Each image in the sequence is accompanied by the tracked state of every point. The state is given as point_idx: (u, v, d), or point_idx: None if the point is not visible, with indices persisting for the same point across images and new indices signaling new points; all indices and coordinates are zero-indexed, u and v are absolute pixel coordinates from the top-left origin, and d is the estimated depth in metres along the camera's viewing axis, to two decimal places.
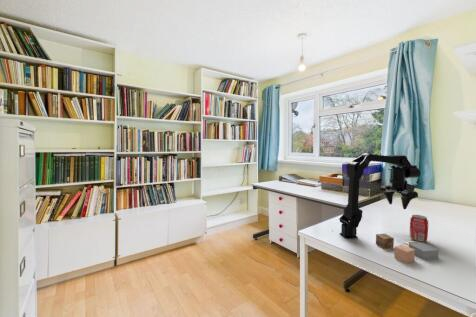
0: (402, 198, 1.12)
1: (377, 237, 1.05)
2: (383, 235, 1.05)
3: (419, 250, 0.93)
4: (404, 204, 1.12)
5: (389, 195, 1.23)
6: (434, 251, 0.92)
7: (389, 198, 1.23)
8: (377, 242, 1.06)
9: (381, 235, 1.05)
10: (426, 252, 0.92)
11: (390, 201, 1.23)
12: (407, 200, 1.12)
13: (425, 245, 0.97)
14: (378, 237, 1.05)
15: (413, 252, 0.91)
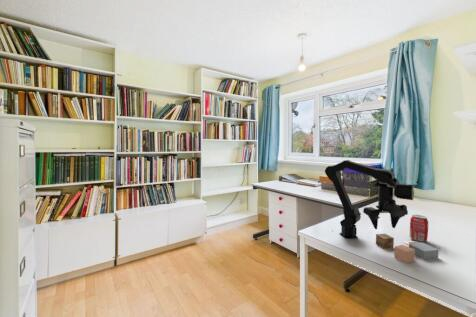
0: None
1: (377, 237, 1.05)
2: (383, 235, 1.05)
3: (419, 250, 0.93)
4: (372, 222, 1.04)
5: (393, 217, 1.05)
6: (434, 251, 0.92)
7: (392, 220, 1.05)
8: (377, 242, 1.06)
9: (381, 235, 1.05)
10: (426, 252, 0.92)
11: (392, 224, 1.05)
12: (374, 219, 1.03)
13: (425, 245, 0.97)
14: (378, 237, 1.05)
15: (413, 252, 0.91)
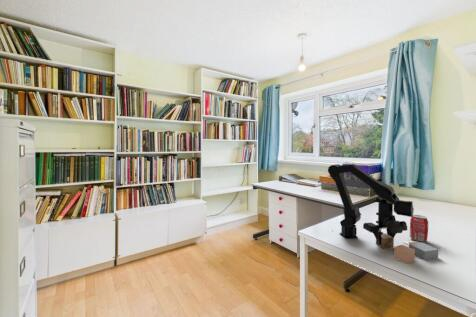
0: None
1: None
2: (383, 234, 1.05)
3: (420, 250, 0.93)
4: (376, 237, 1.05)
5: (389, 232, 1.05)
6: (434, 251, 0.92)
7: None
8: (377, 242, 1.06)
9: (381, 235, 1.05)
10: (426, 252, 0.92)
11: None
12: (377, 234, 1.03)
13: (425, 245, 0.97)
14: None
15: (413, 252, 0.91)
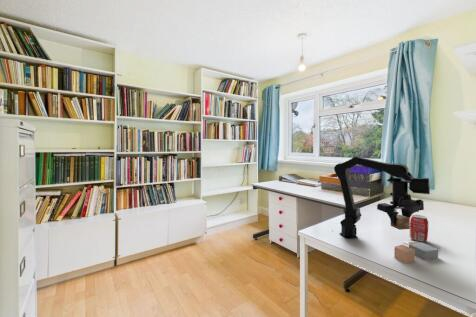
0: None
1: None
2: (398, 215, 1.01)
3: (420, 250, 0.93)
4: (390, 218, 1.01)
5: (404, 213, 1.01)
6: (434, 251, 0.92)
7: None
8: (392, 223, 1.01)
9: None
10: (427, 252, 0.91)
11: None
12: (392, 215, 0.99)
13: (425, 245, 0.97)
14: None
15: (413, 252, 0.91)
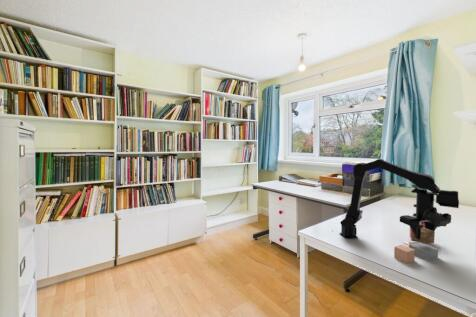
0: None
1: None
2: (421, 228, 0.96)
3: (420, 250, 0.93)
4: (413, 232, 0.96)
5: (428, 226, 0.96)
6: (434, 251, 0.92)
7: None
8: (414, 237, 0.96)
9: None
10: (427, 252, 0.91)
11: None
12: (416, 228, 0.94)
13: (425, 245, 0.97)
14: None
15: (413, 252, 0.91)
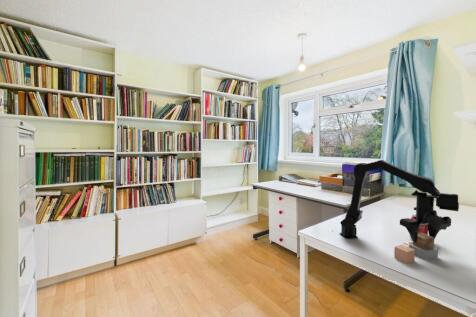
0: None
1: None
2: (421, 234, 0.96)
3: (420, 251, 0.93)
4: (411, 235, 0.96)
5: (431, 229, 0.96)
6: (434, 251, 0.92)
7: (430, 232, 0.96)
8: (414, 243, 0.97)
9: (419, 235, 0.96)
10: (427, 253, 0.91)
11: None
12: (413, 231, 0.94)
13: None
14: None
15: (413, 252, 0.91)
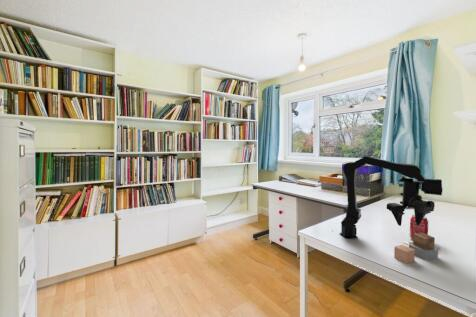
0: None
1: (415, 237, 0.96)
2: (421, 234, 0.96)
3: (420, 251, 0.93)
4: (395, 218, 1.00)
5: (417, 213, 1.01)
6: (434, 251, 0.92)
7: (416, 217, 1.01)
8: (415, 243, 0.96)
9: (420, 235, 0.96)
10: (427, 253, 0.91)
11: (417, 221, 1.01)
12: (398, 215, 0.99)
13: None
14: (416, 237, 0.95)
15: (413, 252, 0.91)
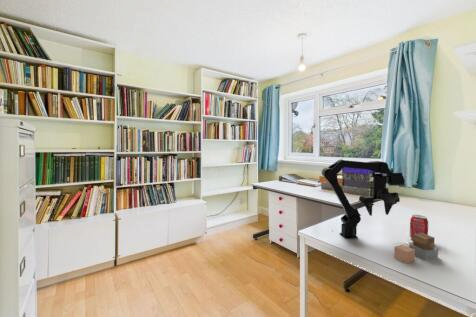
0: None
1: (415, 237, 0.96)
2: (421, 234, 0.96)
3: (421, 250, 0.93)
4: (367, 209, 1.13)
5: (386, 204, 1.14)
6: (434, 250, 0.93)
7: (385, 207, 1.14)
8: (415, 243, 0.96)
9: (419, 235, 0.96)
10: (427, 252, 0.92)
11: (386, 211, 1.14)
12: (368, 206, 1.12)
13: None
14: (416, 237, 0.95)
15: (413, 252, 0.91)
